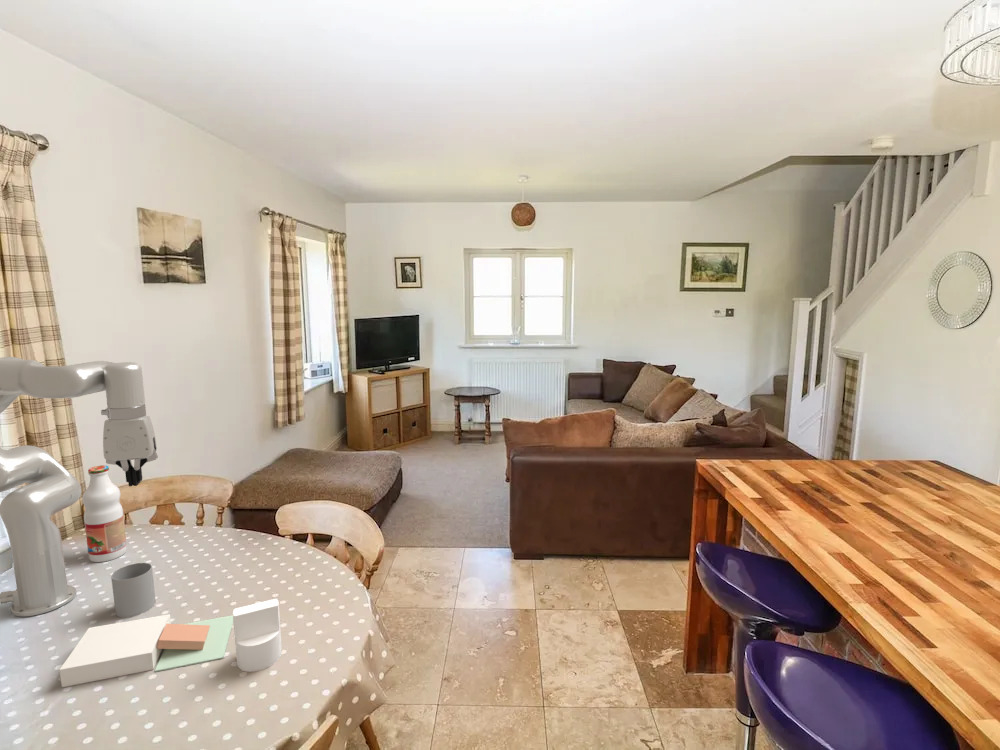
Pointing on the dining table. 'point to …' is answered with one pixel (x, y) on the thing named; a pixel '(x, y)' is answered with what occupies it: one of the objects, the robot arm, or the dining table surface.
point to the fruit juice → (103, 517)
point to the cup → (133, 590)
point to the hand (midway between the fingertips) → (134, 484)
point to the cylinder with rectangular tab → (257, 635)
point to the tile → (183, 636)
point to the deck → (114, 651)
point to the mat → (211, 649)
